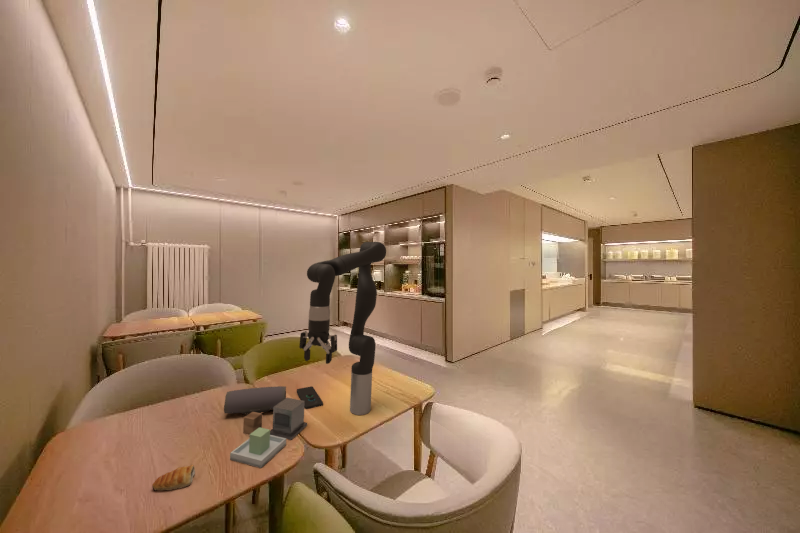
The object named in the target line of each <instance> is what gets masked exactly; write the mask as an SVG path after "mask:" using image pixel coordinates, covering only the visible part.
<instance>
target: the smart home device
mask: <svg viewBox="0 0 800 533" xmlns="http://www.w3.org/2000/svg"><path fill="white" fill-rule="evenodd" d="M296 395H297V396H298V398H299V400H302V401H305V404H304V410H309V409H314V408H315V409H316V408H320V407H323V406H324V401H323V400H322V399H321V397H320V395H319V393H318V392H317V390H316V389H315V388H314V386H312V385H311V386H307V387H301V388H296Z"/></svg>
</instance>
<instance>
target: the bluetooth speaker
mask: <svg viewBox="0 0 800 533" xmlns="http://www.w3.org/2000/svg"><path fill="white" fill-rule="evenodd" d="M224 397H225V398H224V405H223V413H224V414H242V415H244V414H246V415H248V414H250V413H251V412H257V413H261V412H264V413H268V412H267V411H269V412H270V411H271V410H273V407H274V406H276V405H277V404H279V403H280V402H281V401H283V400H284V399H286V398H287V386H283V385H282V386H281V385H279V386H263V387H260V386H259V387H251V388H250V387H249V388H244V389H243V388H242V389H235V390H230V391H227V392H226V393H225V396H224Z"/></svg>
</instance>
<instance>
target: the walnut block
mask: <svg viewBox="0 0 800 533" xmlns="http://www.w3.org/2000/svg"><path fill="white" fill-rule="evenodd" d="M259 427H261V428H263V413H257V412H251V413H250V414H246V415H245V416H243V428H242V434H244V435H249V436H250V434H251V433H252V432H254V431H255V430H256V429H258V428H259Z"/></svg>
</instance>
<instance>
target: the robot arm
mask: <svg viewBox="0 0 800 533" xmlns="http://www.w3.org/2000/svg"><path fill="white" fill-rule="evenodd" d="M386 256H387V248H386V246H385V244H384V243H383V242H379V241H365V242H362V243H361V245H360V247H359V251H356V252H351V253H346V254H343V255H339V256H337V257H333V258H332V259H328V260H324V261H319V262H315V263H313V264H311V265H310V266H309V267H308V268H307V270H306V276H307V279H308V280H309V281H310V282H312V283H317V284H318V285H317V288H316V289H312V290H311V292H310V296H309V297H310V298H309V310H308V323H307V324H308V332H307V331H302V332H300V337H299V346H298V347H299V349H302V350H303V351H304V352H303V359H304V361H305V362H309V361H310V359H311V348H312V346H314V347H315V346H317V347H321V348H322V349H323V350H324V351H325V352H326V354H325V364H327V365H328V364H330V363H331V362H332V359H333V353H335V352H337V351H338V335H337V334H334V335H332V334H331V335H330V319H331V309H330V308H331V306H330V301H331V293H332V290H333V286H334V284H335V279H336V277H339V276H342V275H344V274H346V273H349V272H350V271H353V270H355V269H357V268H358V275H357V276H358V278H357V285H356V286H357V287H356V293H355V294H356V295H355V303H354V305H355V306H354V313H353V320H352V323H351V324H352V325H351V330H350V334H349V338H348V350H349V352H350V353H351V354H352V355H355V356H359V361H357V362H354V363H353V364H352V365H351V370H350V372H351V374H350V396H349V397H350V398H349V399H350V400H349V412H350V413H351V414H352V415H357V416H362V415H363V416H364V415H367V414H369V413H370V412H371V410H372V409H371V408H372V390H373V389H372V387H373V386H372V385H373V367H374V365H375V357H376V356H375V355H376V347H377V346H376V339H375V338H374V337H373V336H370V335H366V334H365V327H366V326H365V325H366V322H367V321H368V319H369V318H370V316H371V315H372V313H373V311H374V309H375V308H376V304H377V295H378V291H377V287H376V284H375V281H374V279H373V275H372V271H371V270H372V264H374V263H379V262H382V261H384V259H385V258H386ZM307 338H308V342H307ZM329 341H330V342H329Z"/></svg>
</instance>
